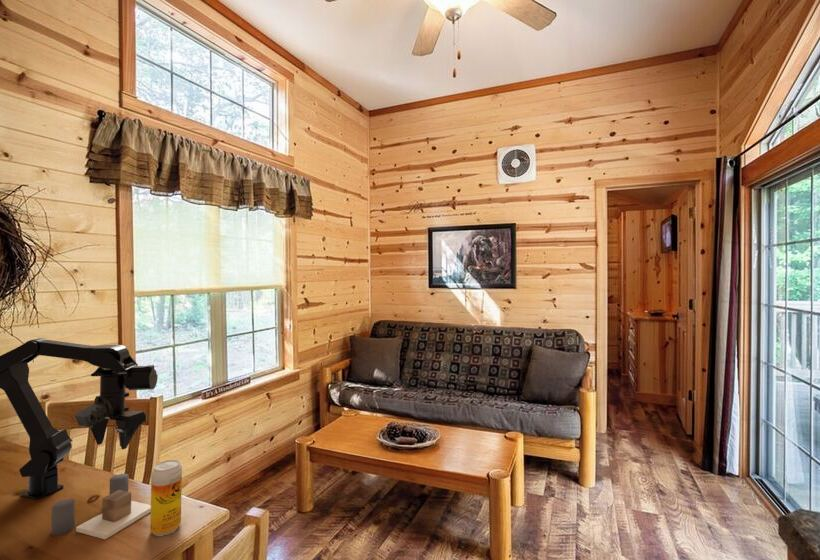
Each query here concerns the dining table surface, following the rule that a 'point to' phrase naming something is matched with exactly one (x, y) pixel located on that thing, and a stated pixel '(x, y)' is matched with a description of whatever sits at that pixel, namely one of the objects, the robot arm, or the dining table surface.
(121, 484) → the post
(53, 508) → the post
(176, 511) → the yellow canister
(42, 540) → the dining table surface
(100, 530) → the ceramic tile
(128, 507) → the walnut block
